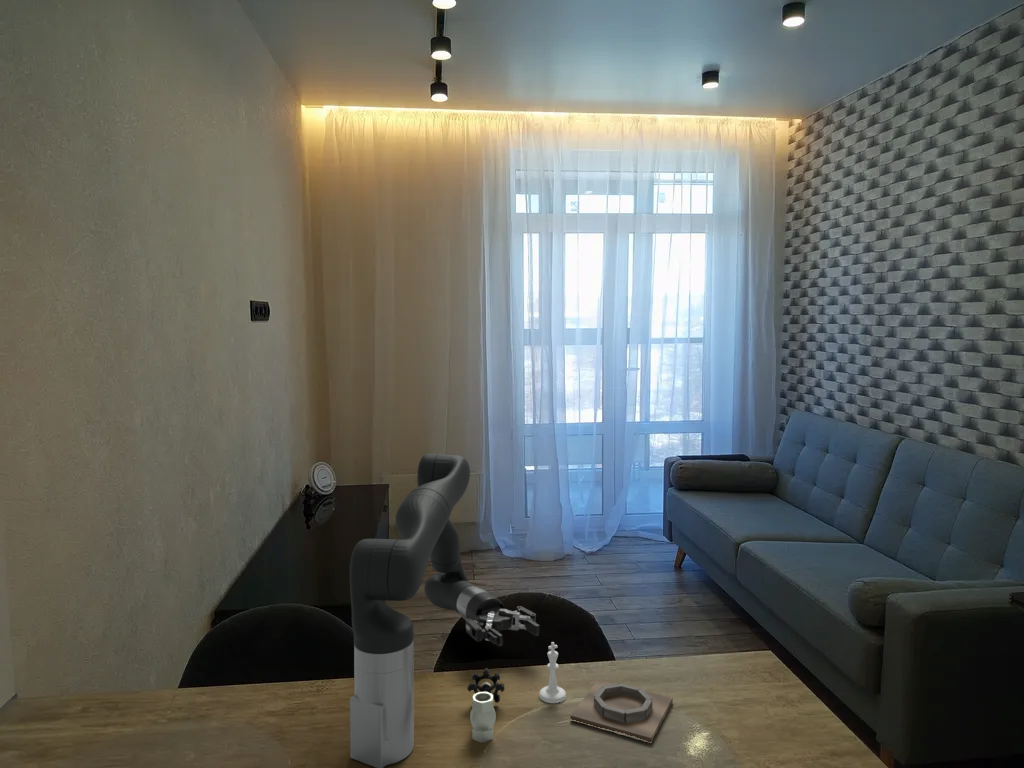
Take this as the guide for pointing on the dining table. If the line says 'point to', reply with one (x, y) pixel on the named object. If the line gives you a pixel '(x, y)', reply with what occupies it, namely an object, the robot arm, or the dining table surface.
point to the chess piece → (552, 680)
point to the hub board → (623, 709)
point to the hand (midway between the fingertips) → (519, 636)
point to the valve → (484, 705)
